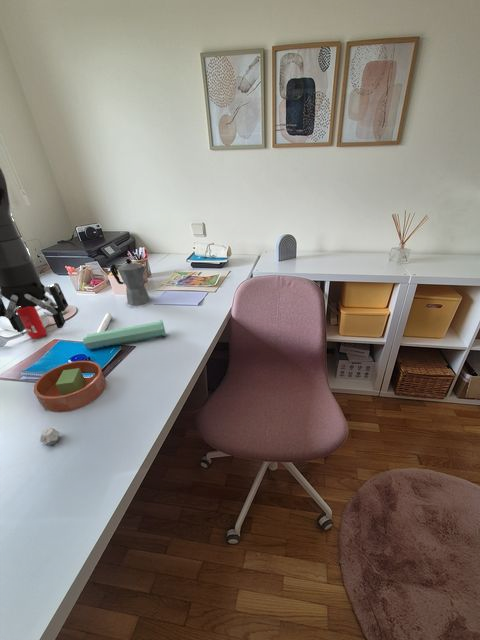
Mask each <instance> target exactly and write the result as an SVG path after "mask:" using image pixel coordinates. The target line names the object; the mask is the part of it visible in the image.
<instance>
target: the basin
mask: <svg viewBox="0 0 480 640" xmlns="http://www.w3.org/2000/svg"><path fill="white" fill-rule="evenodd" d="M77 368H80V370H81V373H95V375H94V376H93V377H91V378H84V379H85V383H84V386H83V388H82V389H80V390H78V391H76V392H74V393H71V394H67V395H63V396H61V394H60V392H59V390H58V388H57V386H56V383H57V381H58V379H59V377H60V376H61V374H62V372H63V370H70V369H77ZM106 387H107V379H106V377H105V374H104V372H103V369H102V366H101V365H100V364H99V363H97V362H95V361H92V360H74V361H70V362H66V363H62V364H60V365H57V366H56V367H53V368H51V369H50V370H48V371H46V372H44V373H43V375H41V376H40V377H38V379H37V380H36V381H35V383H34V384H33V393H34V395H35V397H36V398H37V400H38V402H39V404H40V405H41V407H42V408H43V409H45V410H46V411H49V412H53V413H63V412H64V413H65V412H71V411H73V410H77V409H80V408H82V407H85V406H87V405H88V404H90V403H93V402H94V401H95V400H96V399H97V398H98V397H100V396H101V395H102V394H103V393H104V391H105V390H106Z"/></svg>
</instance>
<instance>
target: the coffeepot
mask: <svg viewBox="0 0 480 640" xmlns="http://www.w3.org/2000/svg"><path fill="white" fill-rule="evenodd" d="M125 262H126V263H123V264H117V263H116V264H114V263H113V264H111V266H110V267H109V271H110V272H111V274H112V276H113V277H114V279H115V281H116V282H117V283H118V285H125V287H126V288H125V290H126V291H125V293H126V299H127V300H126V302H127V304H128V305H130V306H142V305H146V304H147V303H148V302H150V296H149V293H148V291H147V289H146V286H145V284H144V272H145V270H146V269H147V267H146V266H144V265H143V264H142V263H139V262H131V259H130V258H126V259H125ZM116 270H117V271H118V273H119V275H118V274H117V272H116ZM119 276H120V277H119ZM120 278H121V279H120ZM121 280H122V281H121Z"/></svg>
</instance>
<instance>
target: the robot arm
mask: <svg viewBox="0 0 480 640" xmlns="http://www.w3.org/2000/svg"><path fill="white" fill-rule="evenodd" d="M7 184H8V183H7V180H6V176H5V174H4V171H3V169H2V167H1V166H0V318H1V317H2V318H3V317H4V318H6V319H8V321H9V323H10V325H11V326H12V328H13V330H14V331H17V333H23V332H24V331H25V330H26V329H25V326H24V324H23V322H22V320H21V318H20V316H19V314H17V310H18V308H19V307H21V308H25V307H28V306H30V307H35V308H36V307H40V308H41V309H43V310H46V311H47V312H49V313H51V315H52V319H53V321H54V323H55V325H56V327H57V329H62V328H63V327H64V325H65V324H66V319H65V316H64V314H63V312H65V311H66V309H67V308H68V307H69V303H68V301H67V300H66V297H65V295H64V293H63V290H62V289H61V286H60V285H59V283H55V282H54V283H53V284H51V285H44V284H43V283H42V281H41V278H40V275H39V273H38V271H37V267H36V266H35V263H34V260H33V259H32V257H31V255H30V252H29V248H27V245H26V244H25V241H24V240H23V238H22V236H21V234H20V232H19V229H18V227H17V225H16V223H15V221H14V219H13V216H12V213H11V212H12V211H11V203H10V196H9V191H8V185H7ZM46 293H48V295H49V296H52V298H53V299H52V298H50V297H49V296H48V295H46ZM2 298H5V299H7V300H8V301H9V303H8V305H7V307H6V306H5V304H4V303H5V302H4V301H3V299H2ZM53 300H54V301H53Z"/></svg>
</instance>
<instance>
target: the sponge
mask: <svg viewBox="0 0 480 640" xmlns="http://www.w3.org/2000/svg"><path fill="white" fill-rule="evenodd" d="M84 383H85V379H84V377H83V375H82V373H81V370H80V368H77V369H70V370H63V372H62V374H61V376H60V377H59V379H58V381H57V383H56V386H57V388H58V390H59V392H60V394H61V396H63V395H67V394H71V393H74V392H76V391H78V390H80V389H82V388H83V386H84Z"/></svg>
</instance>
